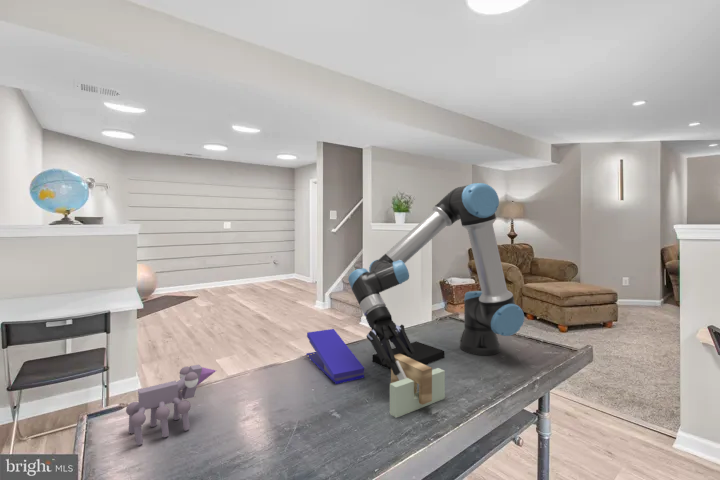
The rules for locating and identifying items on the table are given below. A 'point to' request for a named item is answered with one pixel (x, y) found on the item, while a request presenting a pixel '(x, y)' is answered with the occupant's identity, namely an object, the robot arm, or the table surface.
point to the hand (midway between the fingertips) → (411, 382)
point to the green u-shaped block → (407, 400)
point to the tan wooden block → (416, 376)
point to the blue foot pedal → (334, 356)
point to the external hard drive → (417, 354)
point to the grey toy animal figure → (166, 401)
